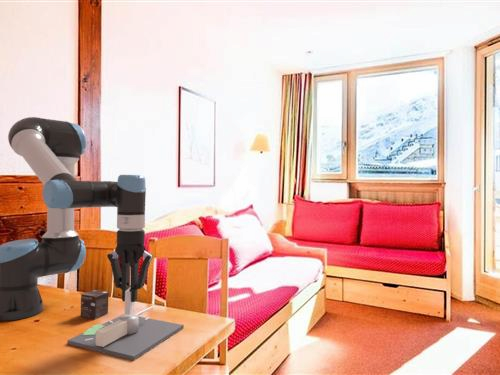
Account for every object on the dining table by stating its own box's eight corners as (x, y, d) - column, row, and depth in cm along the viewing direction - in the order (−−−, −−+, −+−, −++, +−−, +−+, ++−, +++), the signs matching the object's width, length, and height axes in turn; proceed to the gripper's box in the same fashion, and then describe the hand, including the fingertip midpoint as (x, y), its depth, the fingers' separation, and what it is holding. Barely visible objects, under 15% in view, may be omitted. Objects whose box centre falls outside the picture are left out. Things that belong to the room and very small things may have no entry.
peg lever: (145, 317, 113) (145, 304, 113) (158, 320, 111) (159, 307, 111) (91, 344, 93) (92, 329, 93) (107, 348, 91) (107, 332, 91)
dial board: (64, 343, 97) (64, 338, 97) (123, 316, 118) (123, 312, 118) (134, 360, 88) (134, 355, 88) (184, 327, 109) (184, 323, 109)
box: (79, 317, 116) (80, 294, 116) (94, 311, 122) (94, 289, 122) (94, 320, 114) (94, 296, 114) (108, 313, 119) (109, 291, 119)
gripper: (102, 230, 99) (100, 316, 100) (147, 231, 98) (146, 319, 98) (115, 227, 107) (114, 307, 107) (158, 228, 105) (156, 309, 105)
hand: (129, 312), depth 102 cm, fingers closed
